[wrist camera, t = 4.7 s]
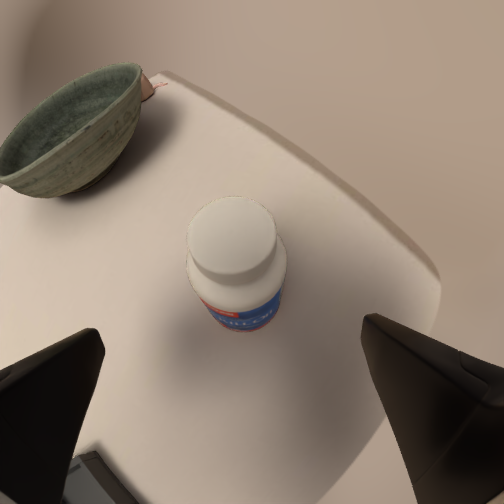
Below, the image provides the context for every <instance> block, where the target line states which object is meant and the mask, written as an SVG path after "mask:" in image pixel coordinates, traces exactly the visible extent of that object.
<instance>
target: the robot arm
mask: <svg viewBox="0 0 504 504" xmlns="http://www.w3.org/2000/svg"><path fill="white" fill-rule="evenodd" d="M361 344H362V347H363V350H364V353H365V357H366V360H367V364H368V367H369V370H370V374H371V377H372V380H373V383H374V385H375V388H376V390H377V392H378V395H379V397H380V400H381V402H382V404H383V407H384V409H385V412H386V414H387V417H388V419H389V422H390V424H391V427H392V430H393V432H394V435H395V437H396V440H397V443H398V446H399V448H400V451H401V454H402V457H403V460H404V462H405V465H406V468H407V471H408V474H409V477H410V480H411V483H412V485H413V486H412V487H413V490H414V493H415V496H416V499H417V503H418V504H504V368H502V367H499V366H496V365H494V364H490V363H488V362H485V361H483V360H480V359H477V358H475V357H473V356H470V355H468V354H466V353H464V352H461V351H458V350H457V349H455V348H452V347H450V346H448V345H446V344H444V343H441V342H439V341H437V340H435V339H432V338H430V337H428V336H426V335H424V334H421V333H419V332H417V331H415V330H412V329H410V328H408V327H406V326H404V325H401V324H399V323H397V322H395V321H393V320H390V319H388V318H386V317H384V316H382V315H379V314H377V313H373V314H367V315H365V316H364V318H363V324H362V330H361ZM104 356H105V347H104V344H103V342H102V339H101V337H100V334H99V332H98V330H97V329H95V328H86V329H83V330H81V331H79V332H77V333H75V334H73V335H71V336H69V337H67V338H65V339H63V340H61V341H59V342H57V343H55V344H53V345H51V346H49V347H47V348H45V349H43V350H41V351H39V352H37V353H35V354H32V355H30V356H28V357H26V358H24V359H22V360H20V361H18V362H16V363H15V364H12V365H10V366H8V367H6V368H4V369H2V370H0V504H61V502H62V497H63V493H64V488H65V484H66V481H65V480H66V479H67V475H68V471H69V467H70V464H71V460H72V456H73V453H74V449H75V446H76V443H77V440H78V436H79V433H80V430H81V427H82V424H83V421H84V418H85V415H86V412H87V409H88V407H89V404H90V401H91V398H92V396H93V393H94V390H95V387H96V384H97V380H98V377H99V373H100V369H101V366H102V362H103V359H104Z"/></svg>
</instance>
